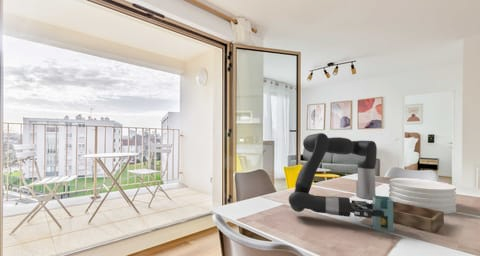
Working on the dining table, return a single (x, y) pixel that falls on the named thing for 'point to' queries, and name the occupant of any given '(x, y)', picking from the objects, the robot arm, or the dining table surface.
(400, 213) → the tray
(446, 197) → the plate stack
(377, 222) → the teal open box
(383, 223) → the ball
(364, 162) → the robot arm
